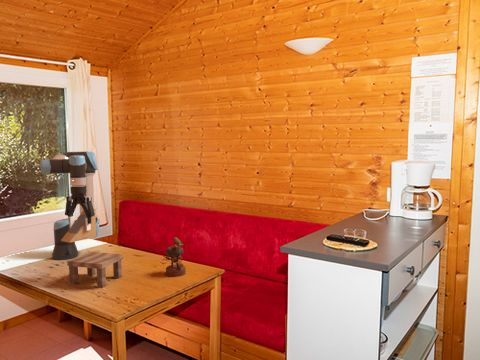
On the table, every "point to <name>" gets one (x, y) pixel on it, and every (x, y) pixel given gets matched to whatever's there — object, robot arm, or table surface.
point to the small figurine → (175, 260)
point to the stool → (95, 266)
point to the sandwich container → (81, 229)
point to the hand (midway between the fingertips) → (80, 229)
